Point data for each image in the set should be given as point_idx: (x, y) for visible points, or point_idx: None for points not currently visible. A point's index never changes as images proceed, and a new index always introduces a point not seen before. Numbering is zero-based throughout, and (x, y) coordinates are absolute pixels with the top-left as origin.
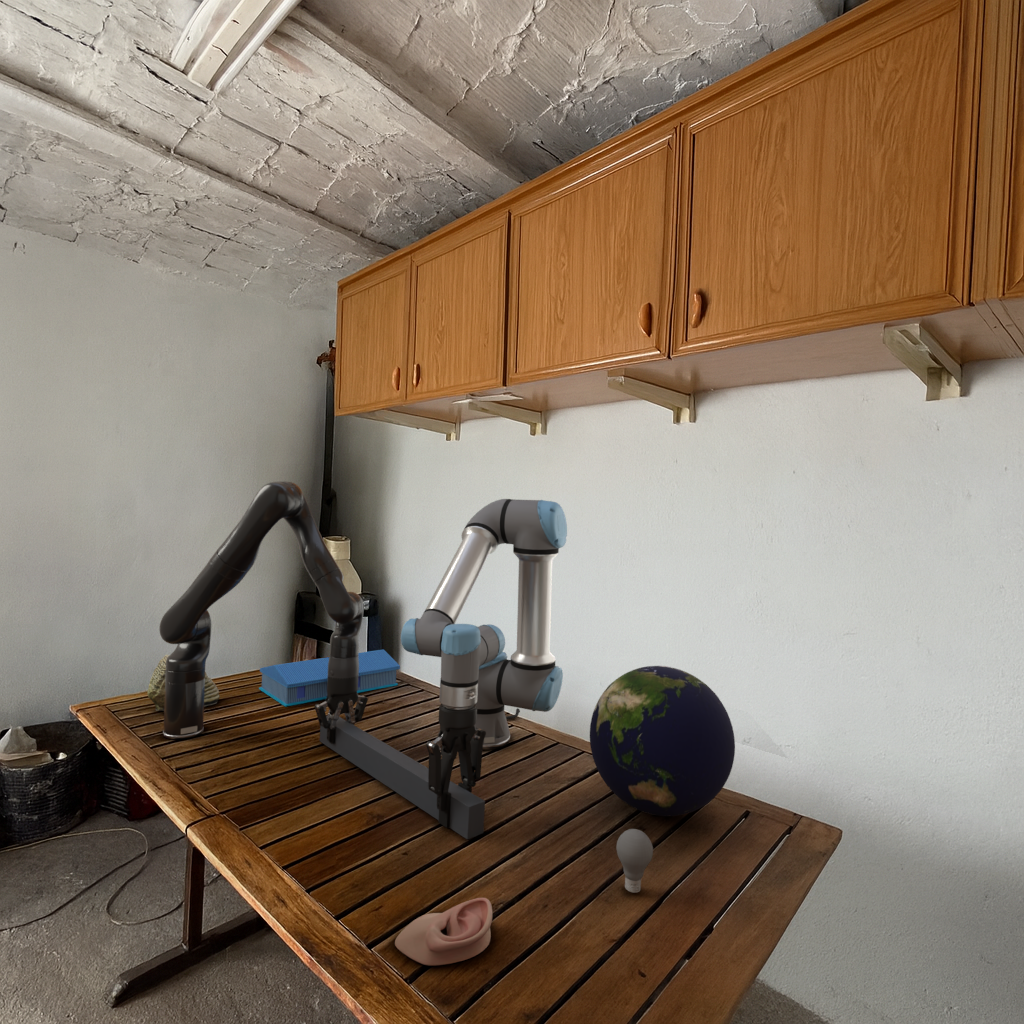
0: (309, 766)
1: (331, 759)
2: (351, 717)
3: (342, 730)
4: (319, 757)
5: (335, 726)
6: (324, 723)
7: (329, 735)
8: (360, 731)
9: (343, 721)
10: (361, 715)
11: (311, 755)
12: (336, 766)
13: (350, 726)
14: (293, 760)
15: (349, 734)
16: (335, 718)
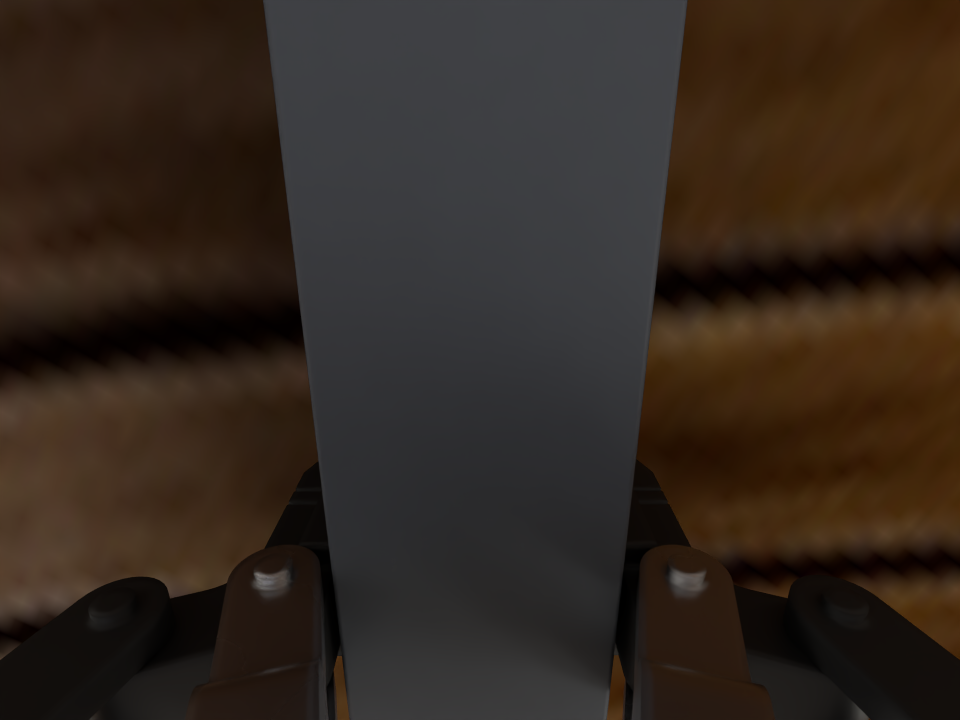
0: (938, 237)
1: (673, 260)
2: (283, 661)
3: (645, 352)
4: (728, 373)
5: (620, 583)
6: (929, 659)
7: (670, 511)
8: (360, 40)
9: (402, 680)
10: (39, 655)
11: (752, 453)
12: (749, 45)
13: (411, 437)
14: (932, 447)
15: (680, 24)
16: (739, 694)
